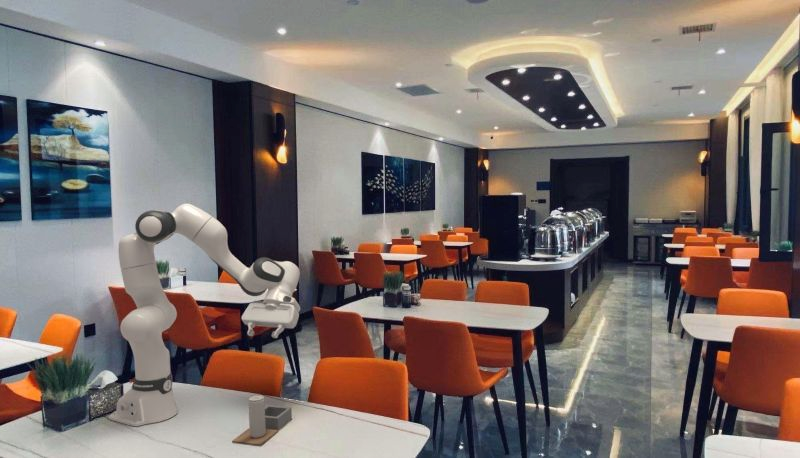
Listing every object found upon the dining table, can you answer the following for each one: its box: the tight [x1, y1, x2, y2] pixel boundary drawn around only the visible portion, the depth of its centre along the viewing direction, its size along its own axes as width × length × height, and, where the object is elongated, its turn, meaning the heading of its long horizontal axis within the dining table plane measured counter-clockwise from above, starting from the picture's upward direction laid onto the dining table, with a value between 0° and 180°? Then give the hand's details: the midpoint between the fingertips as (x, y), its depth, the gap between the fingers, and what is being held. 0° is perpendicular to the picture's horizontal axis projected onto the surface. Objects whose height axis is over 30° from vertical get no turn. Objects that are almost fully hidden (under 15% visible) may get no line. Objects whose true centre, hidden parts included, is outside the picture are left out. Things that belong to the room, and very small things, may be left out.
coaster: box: [231, 427, 279, 447], centre depth 167 cm, size 10×10×1 cm
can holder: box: [265, 404, 293, 431], centre depth 176 cm, size 9×9×4 cm
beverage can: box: [247, 394, 266, 438], centre depth 166 cm, size 5×5×12 cm
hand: (261, 336), depth 182 cm, fingers open, 8 cm apart
